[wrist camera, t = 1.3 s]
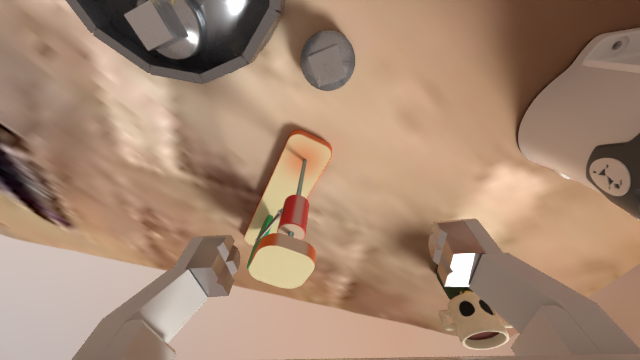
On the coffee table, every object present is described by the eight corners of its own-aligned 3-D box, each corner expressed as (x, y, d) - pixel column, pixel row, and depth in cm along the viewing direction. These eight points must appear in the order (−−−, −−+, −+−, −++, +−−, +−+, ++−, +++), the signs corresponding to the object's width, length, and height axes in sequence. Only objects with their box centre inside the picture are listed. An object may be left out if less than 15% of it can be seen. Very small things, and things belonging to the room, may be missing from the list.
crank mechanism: (293, 125, 32) (256, 227, 17) (335, 145, 34) (339, 257, 18) (243, 236, 45) (196, 352, 29) (276, 247, 47) (247, 364, 31)
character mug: (483, 255, 46) (529, 328, 35) (476, 277, 49) (517, 349, 39) (424, 260, 47) (451, 331, 36) (422, 281, 51) (446, 351, 40)
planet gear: (345, 20, 25) (347, 20, 21) (359, 76, 29) (364, 86, 24) (294, 42, 27) (287, 46, 23) (313, 93, 30) (310, 105, 26)
